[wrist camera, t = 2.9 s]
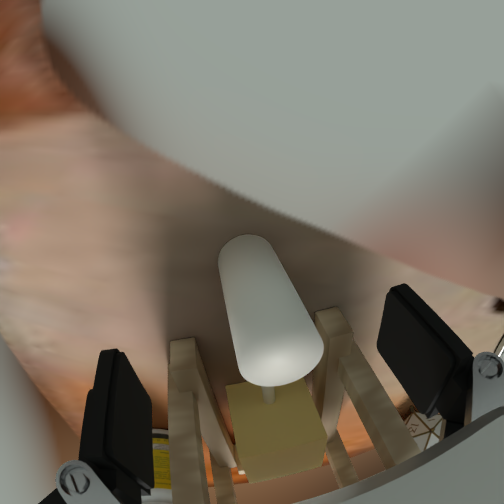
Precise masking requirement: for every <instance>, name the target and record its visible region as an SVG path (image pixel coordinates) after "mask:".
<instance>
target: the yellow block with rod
mask: <svg viewBox="0 0 504 504" xmlns="http://www.w3.org/2000/svg"><path fill="white" fill-rule="evenodd" d="M218 268H219V273H220V279H221V284H222V289H223V294H224V299H225V304H226V309H227V314H228V319H229V324H230V329H231V334H232V339H233V344H234V349H235V353H236V358H237V363H238V367H239V371H240V373H241V375H242V376H243V377H244V378H245V379H246V380H247V381H248V382H243V383H238V384H232V385H227V386H225V387H226V393H227V398H228V404H229V410H230V415H231V421H232V426H233V431H234V436H235V442H236V447H237V452H238V457H239V460H240V462H241V465H242V467H243V469H244V472H245V474H246V476H247V479H248V481H249V483H255V482H261V481H265V480H270V479H275V478H279V477H283V476H287V475H291V474H295V473H299V472H303V471H306V470H310V469H313V468H317V467H320V466H322V462H323V458H324V453H325V448H326V443H327V439H328V436H327V433H326V431H325V428H324V426H323V424H322V421H321V419H320V416H319V414H318V411H317V409H316V406H315V404H314V402H313V399H312V397H311V394H310V392H309V389H308V387H307V385H306V382H305V380H304V376H305V375H307V374H308V373H309V372H310V371H312V370H313V369H314V368H315V366H316V365H317V364H318V363H319V361H320V359H321V357H322V355H323V351H324V344H323V341H322V338H321V336H320V335H319V333H318V331H317V329H316V327H315V325H314V323H313V321H312V320H311V318H310V316H309V314H308V312H307V310H306V308H305V306H304V305H303V303H302V301H301V299H300V297H299V295H298V293H297V292H296V290H295V288H294V286H293V284H292V282H291V281H290V279H289V277H288V275H287V273H286V271H285V270H284V268H283V266H282V264H281V262H280V260H279V259H278V257H277V255H276V253H275V251H274V249H273V248H272V246H271V244H270V243H269V242H268V241H267V240H265V239H264V238H262V237H260V236H257V235H252V234H246V235H241V236H237V237H235V238H233V239H231V240H230V241H228V242H227V243H226V244H225V245H224V246H223V248H222V249H221V251H220V253H219V257H218Z"/></svg>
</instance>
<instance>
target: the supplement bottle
mask: <svg viewBox="0 0 504 504" xmlns="http://www.w3.org/2000/svg"><path fill="white" fill-rule="evenodd" d="M152 439H153V464H154V481H155V486H154V488H153V489H151V496H141V499H142V504H173V502H172V490H171V475H170V458H169V434H168V430H164V429H152Z"/></svg>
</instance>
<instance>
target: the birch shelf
mask: <svg viewBox="0 0 504 504" xmlns="http://www.w3.org/2000/svg"><path fill="white" fill-rule="evenodd" d="M315 327H316V329H317V331H318V333H319V335H320V336H321V338H322V341H323V344H324V351H323V355H322V357H321V359H320V361H319V363H318V364H317V365H316V366H315V368H314V369H313V386H312V399H313V402H314V404H315V406H316V409H317V411H318V414H319V416H320V419H321V421H322V424H323V426H324V428H325V431H326V433H327V436H328V439H327V443H326V448H325V452H326V455H327V458H328V460H329V463H330V465H331V468H332V470H333V473H334V475H335V477H336V480H337V483H338V486H339V488H340V489H341V488H344V487H346V486H349V485H352V484H354V483H357V482H359V479H358V477H357V474H356V472H355V470H354V468H353V465H352V463H351V461H350V458H349V456H348V454H347V451H346V449H345V447H344V445H343V442H342V440H341V438H340V435H339V433H338V431H337V423H338V419H339V414H340V409H341V404H342V399H343V394H344V389H346V391H347V393H348V395H349V397H350V399H351V401H352V403H353V405H354V407H355V409H356V411H357V413H358V415H359V417H360V419H361V421H362V423H363V425H364V427H365V429H366V431H367V433H368V435H369V437H370V439H371V441H372V443H373V445H374V447H375V449H376V450H377V453H378V455H379V457H380V458H381V461H382V463H383V465H384V467H385V469H386V470H387V469H389V468H391V467H393V466H395V465H397V464H400V463H402V462H404V461H406V460H408V459H409V458H411V457H413V456H415V455H417V454H419V453H421V451H420V449H419V447H418V446H417V444H416V442H415V440H414V439H413V437H412V435H411V433H410V432H409V430H408V428H407V427H406V425H405V423H404V421H403V420H402V418H401V416H400V415H399V413H398V411H397V410H396V408H395V406H394V404H393V403H392V401H391V399H390V398H389V396H388V394H387V393H386V391H385V390H384V388H383V386H382V385H381V383H380V381H379V380H378V378H377V376H376V375H375V373H374V371H373V370H372V368H371V367H370V365H369V363H368V362H367V360H366V359H365V357H364V355H363V354H362V352H361V351H360V349H359V347H358V346H357V344H356V343H355V341H354V339H353V333H354V331H353V330H352V328H351V327H350V325H349V324H348V322H347V321H346V319H345V318H344V316H343V315H342V313H341V312H340V310H339V309H338V307H333V308H329V309H325V310H321V311H317V312H315ZM168 434H169V458H170V475H171V490H172V502H173V504H210V498H209V492H208V485H207V478H206V470H205V463H204V455H203V447H202V438H201V435H202V437H203V439H204V441H205V442H206V444H207V446H208V448H209V452H210V460H211V467H212V473H213V480H214V486H215V493H216V499H217V504H237V500H236V495H235V490H234V485H233V480H232V474H231V469H230V468H233V467H237V468H238V472H239V474H245V472H244V469H243V467H242V465H241V462H240V460H239V457H238V452H237V447H236V445H233V444H232V441H231V439H230V436H229V434H228V431H227V429H226V426H225V423H224V421H223V418H222V415H221V413H220V410H219V407H218V405H217V402H216V399H215V397H214V394H213V391H212V388H211V385H210V383H209V380H208V377H207V374H206V371H205V368H204V365H203V362H202V359H201V356H200V353H199V350H198V347H197V344H196V341H195V338H194V337H192V338H187V339H181V340H174V341H170V364H168Z"/></svg>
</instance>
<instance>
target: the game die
mask: <svg viewBox="0 0 504 504" xmlns="http://www.w3.org/2000/svg"><path fill="white" fill-rule="evenodd" d="M410 411H411V412H412V413H411V414H410V415H409V416H408V417H407V418H406V419H405V420H404V423H405V425H406V427H407V428H408V430H409V432H410V433H411V435H412V437H413V439H414V440H415V442H416V444H417V446H418V447H419V449H420V451H421V452H423V451H424V450H426V449H428V448H430V447H431V446H433V445H435V444H437V443H438V442H439V436H440V430H441V424H442V416H441V415H440V414H437V415H435V416H433V417H431V418H430V419H427V417H426V416H425V414H421V413H420V412H415V411H414V407H412V406H411V407H410Z"/></svg>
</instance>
